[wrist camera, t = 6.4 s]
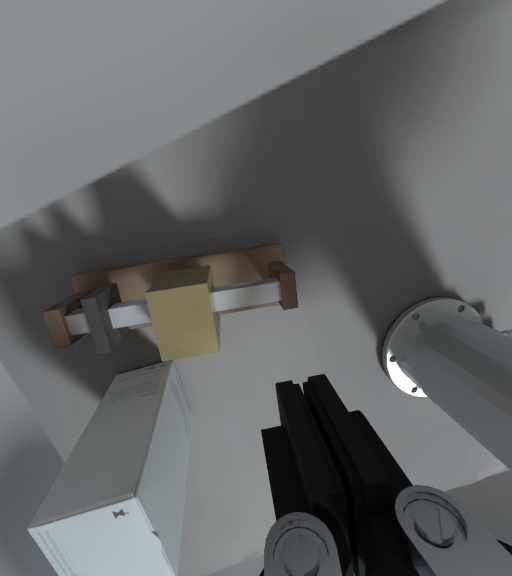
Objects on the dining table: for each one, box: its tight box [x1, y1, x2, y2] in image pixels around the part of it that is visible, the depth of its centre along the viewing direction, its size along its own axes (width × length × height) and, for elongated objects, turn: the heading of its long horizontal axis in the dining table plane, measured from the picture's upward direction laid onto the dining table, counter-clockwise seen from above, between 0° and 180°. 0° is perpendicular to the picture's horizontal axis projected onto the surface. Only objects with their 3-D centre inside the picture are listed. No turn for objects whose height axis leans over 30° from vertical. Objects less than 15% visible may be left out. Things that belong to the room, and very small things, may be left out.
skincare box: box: [27, 360, 193, 576], centre depth 24 cm, size 8×7×16 cm
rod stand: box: [42, 243, 298, 355], centre depth 25 cm, size 20×6×8 cm, turn 97°
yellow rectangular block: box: [145, 265, 220, 362], centre depth 22 cm, size 4×5×7 cm
